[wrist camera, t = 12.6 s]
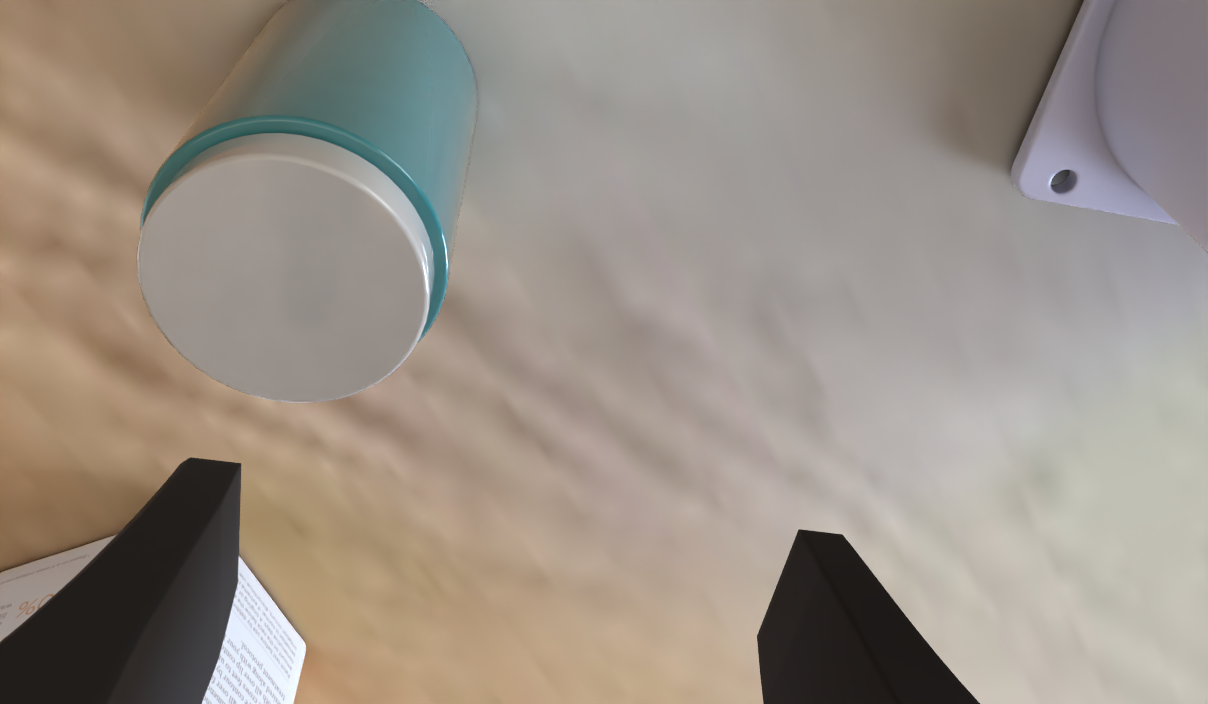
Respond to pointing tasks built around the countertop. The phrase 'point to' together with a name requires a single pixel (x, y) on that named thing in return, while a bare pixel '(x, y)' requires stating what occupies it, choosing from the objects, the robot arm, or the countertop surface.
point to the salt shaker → (314, 202)
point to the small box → (250, 647)
